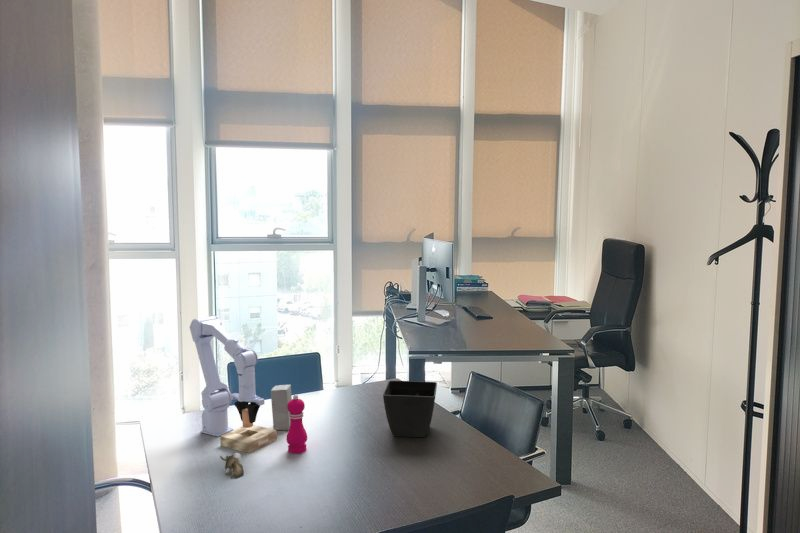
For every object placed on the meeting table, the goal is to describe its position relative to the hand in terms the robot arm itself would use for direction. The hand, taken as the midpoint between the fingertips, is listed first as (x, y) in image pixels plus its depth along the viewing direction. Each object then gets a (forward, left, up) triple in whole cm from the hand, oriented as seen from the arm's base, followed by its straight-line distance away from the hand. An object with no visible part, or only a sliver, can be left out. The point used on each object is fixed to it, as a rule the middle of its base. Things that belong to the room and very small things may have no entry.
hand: (248, 421), depth 216 cm
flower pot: (+46, +38, -8) cm, 60 cm away
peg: (0, 0, -2) cm, 2 cm away
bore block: (0, 0, -8) cm, 8 cm away
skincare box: (0, +18, -8) cm, 20 cm away
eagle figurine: (+13, -21, -8) cm, 26 cm away
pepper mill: (+20, +3, -8) cm, 22 cm away
